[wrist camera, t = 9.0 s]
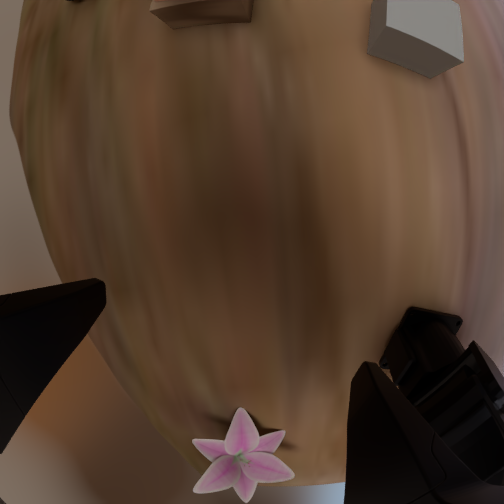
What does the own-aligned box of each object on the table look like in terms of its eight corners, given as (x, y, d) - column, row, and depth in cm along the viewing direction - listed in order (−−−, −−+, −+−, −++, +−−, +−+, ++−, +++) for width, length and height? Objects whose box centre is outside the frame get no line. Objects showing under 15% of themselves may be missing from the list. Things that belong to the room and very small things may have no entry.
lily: (300, 446, 30) (316, 487, 20) (226, 476, 28) (223, 519, 19) (259, 384, 31) (265, 418, 21) (179, 418, 30) (161, 456, 20)
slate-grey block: (431, 28, 11) (459, 4, 6) (429, 78, 13) (463, 62, 8) (371, 4, 11) (386, -29, 7) (366, 54, 13) (386, 25, 9)
